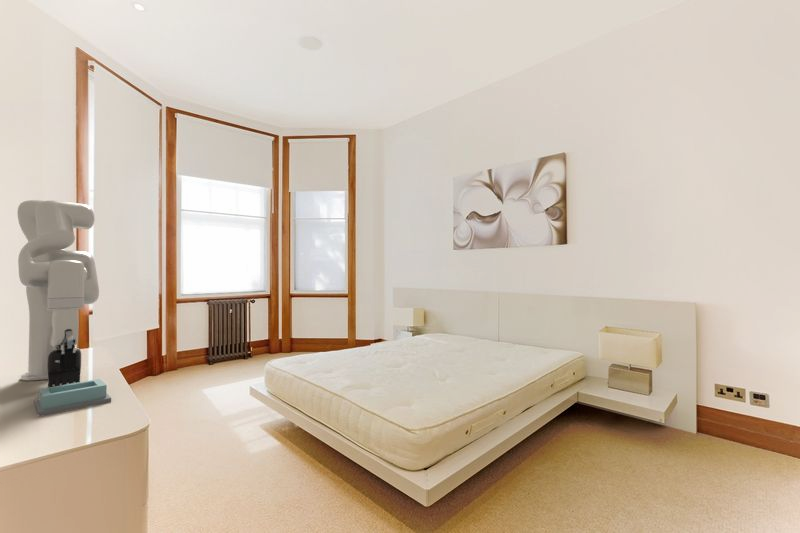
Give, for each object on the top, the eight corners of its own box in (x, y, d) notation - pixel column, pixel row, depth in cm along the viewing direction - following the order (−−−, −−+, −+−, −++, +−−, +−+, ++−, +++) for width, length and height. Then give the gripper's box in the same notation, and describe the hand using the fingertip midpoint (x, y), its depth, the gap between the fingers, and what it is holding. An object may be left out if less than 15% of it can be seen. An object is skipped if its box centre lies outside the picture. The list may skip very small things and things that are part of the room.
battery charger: (45, 394, 98) (46, 351, 98) (47, 391, 101) (48, 349, 101) (80, 389, 102) (81, 348, 103) (80, 386, 105) (81, 346, 106)
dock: (34, 404, 90) (34, 388, 90) (101, 391, 100) (101, 377, 100) (38, 416, 82) (39, 398, 82) (111, 401, 92) (111, 385, 92)
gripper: (44, 305, 105) (43, 365, 104) (51, 305, 93) (50, 373, 93) (78, 303, 111) (77, 360, 110) (89, 304, 99) (88, 367, 98)
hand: (65, 366), depth 101 cm, fingers open, 9 cm apart
